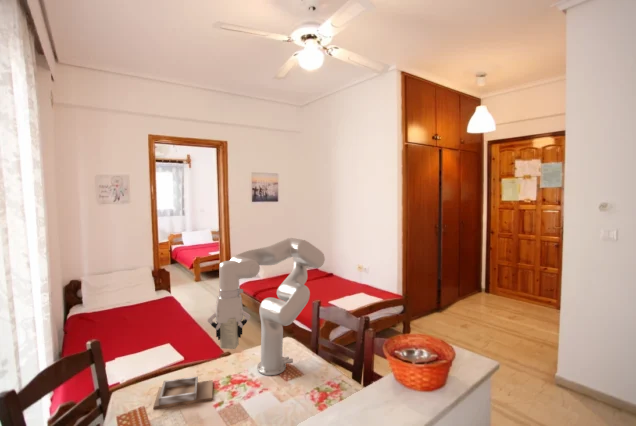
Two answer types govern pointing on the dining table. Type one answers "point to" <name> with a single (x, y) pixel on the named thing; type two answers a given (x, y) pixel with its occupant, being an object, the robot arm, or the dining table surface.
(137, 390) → the dining table surface
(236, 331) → the skincare box
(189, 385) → the box stand
